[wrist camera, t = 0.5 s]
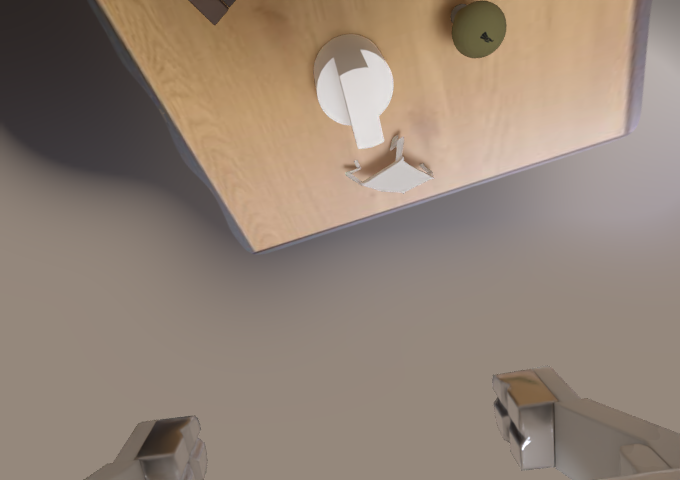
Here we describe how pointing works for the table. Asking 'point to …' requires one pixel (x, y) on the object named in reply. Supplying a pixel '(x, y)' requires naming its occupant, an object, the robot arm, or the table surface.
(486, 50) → the olive green rounded piece
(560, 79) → the table surface
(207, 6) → the brown wooden cabinet
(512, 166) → the table surface
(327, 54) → the base with upright slab
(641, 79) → the table surface
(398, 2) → the table surface
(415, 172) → the white flat-topped legged piece
